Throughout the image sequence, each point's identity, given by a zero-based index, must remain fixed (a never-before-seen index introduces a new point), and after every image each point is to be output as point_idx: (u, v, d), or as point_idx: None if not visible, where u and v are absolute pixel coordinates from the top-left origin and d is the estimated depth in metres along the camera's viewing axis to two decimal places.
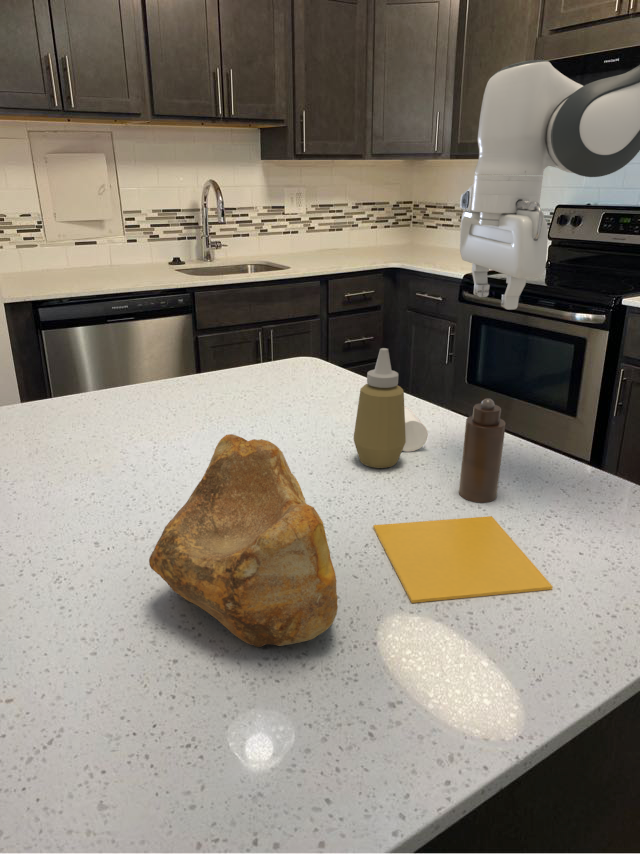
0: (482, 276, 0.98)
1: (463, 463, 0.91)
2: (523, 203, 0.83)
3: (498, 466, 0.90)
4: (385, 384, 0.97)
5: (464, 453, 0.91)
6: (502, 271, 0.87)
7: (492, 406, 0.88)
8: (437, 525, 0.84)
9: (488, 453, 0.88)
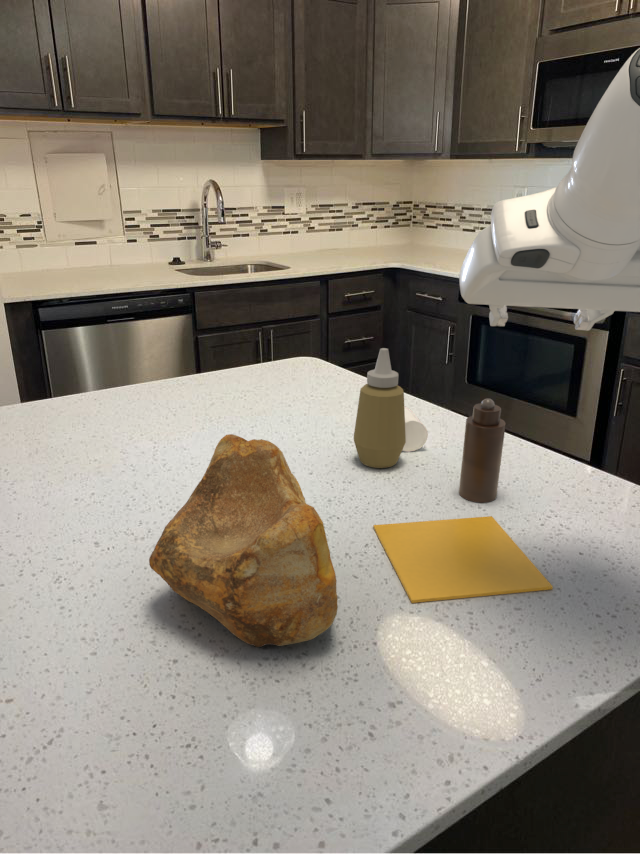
0: None
1: (463, 463, 0.91)
2: None
3: (498, 466, 0.90)
4: (385, 384, 0.97)
5: (464, 453, 0.91)
6: (607, 309, 0.68)
7: (492, 406, 0.88)
8: (437, 525, 0.84)
9: (488, 453, 0.88)
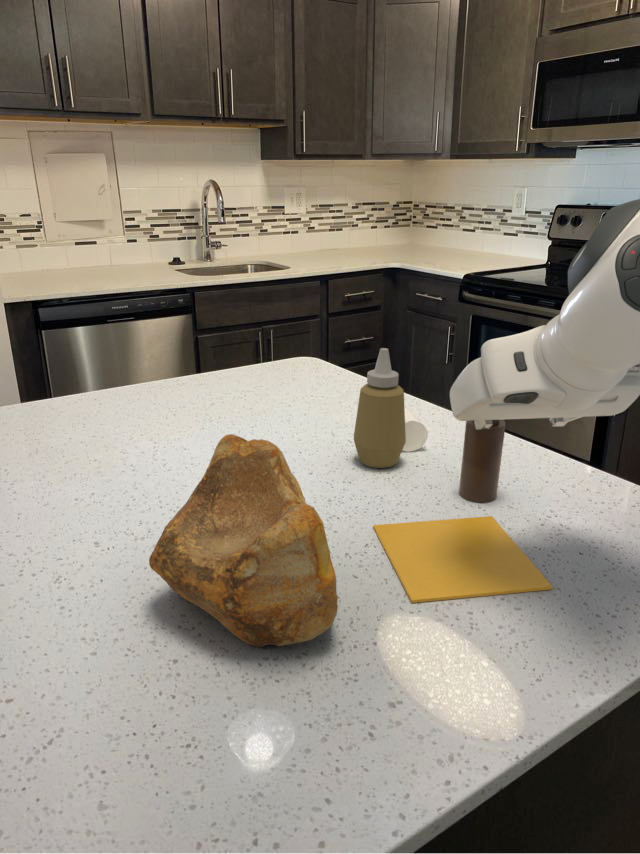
0: None
1: (463, 463, 0.91)
2: (627, 369, 0.68)
3: (498, 466, 0.90)
4: (385, 384, 0.97)
5: (464, 453, 0.91)
6: (581, 416, 0.75)
7: None
8: (437, 525, 0.84)
9: (488, 453, 0.88)
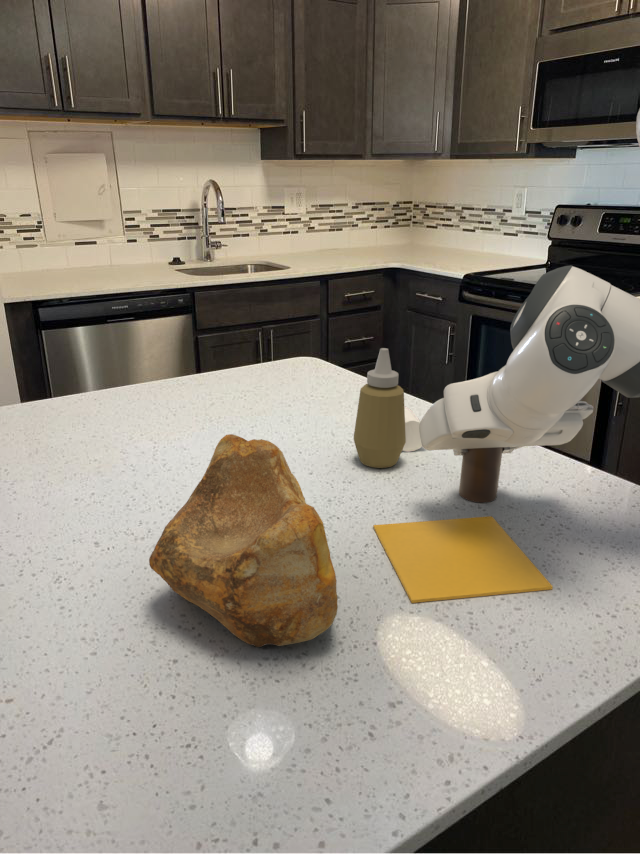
0: None
1: (463, 463, 0.91)
2: (568, 408, 0.80)
3: (498, 466, 0.90)
4: (385, 384, 0.97)
5: None
6: (533, 445, 0.87)
7: None
8: (437, 525, 0.84)
9: (488, 453, 0.88)
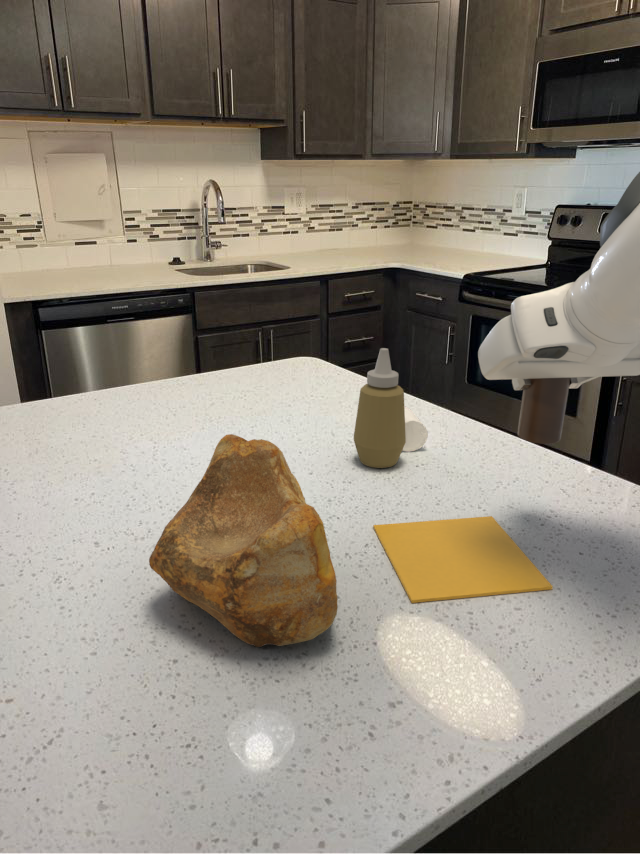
0: None
1: (524, 399, 0.81)
2: None
3: (565, 402, 0.80)
4: (385, 384, 0.97)
5: None
6: None
7: None
8: (437, 525, 0.84)
9: (554, 385, 0.78)
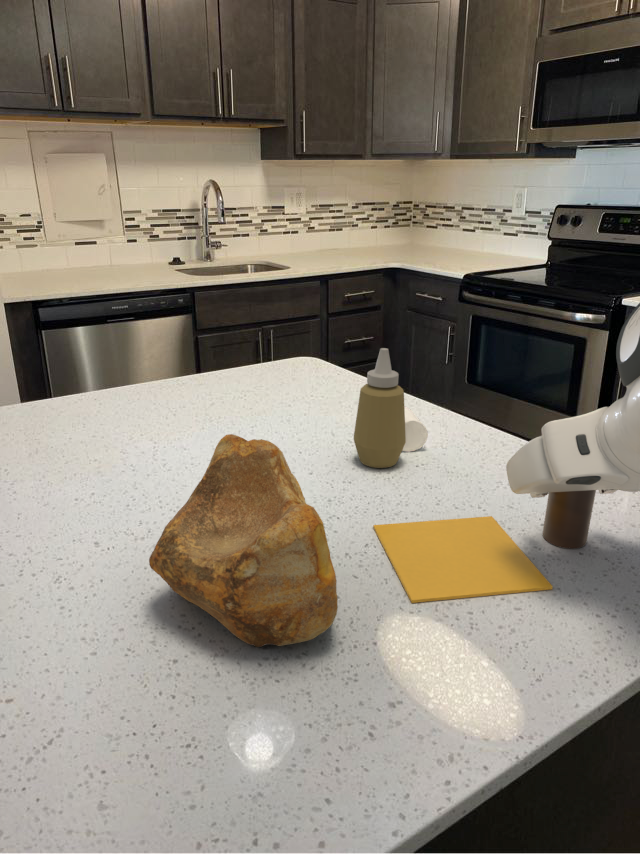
0: None
1: (550, 504, 0.80)
2: None
3: (591, 508, 0.79)
4: (385, 384, 0.97)
5: (552, 493, 0.80)
6: None
7: None
8: (437, 525, 0.84)
9: (582, 493, 0.77)
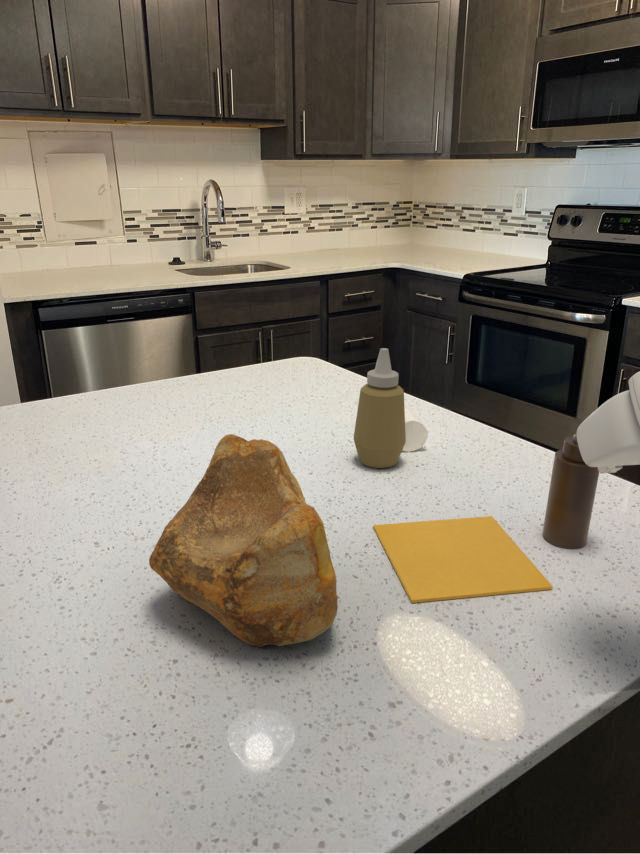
0: None
1: (550, 504, 0.80)
2: None
3: (591, 508, 0.79)
4: (385, 384, 0.97)
5: (552, 493, 0.80)
6: None
7: None
8: (437, 525, 0.84)
9: (582, 493, 0.77)
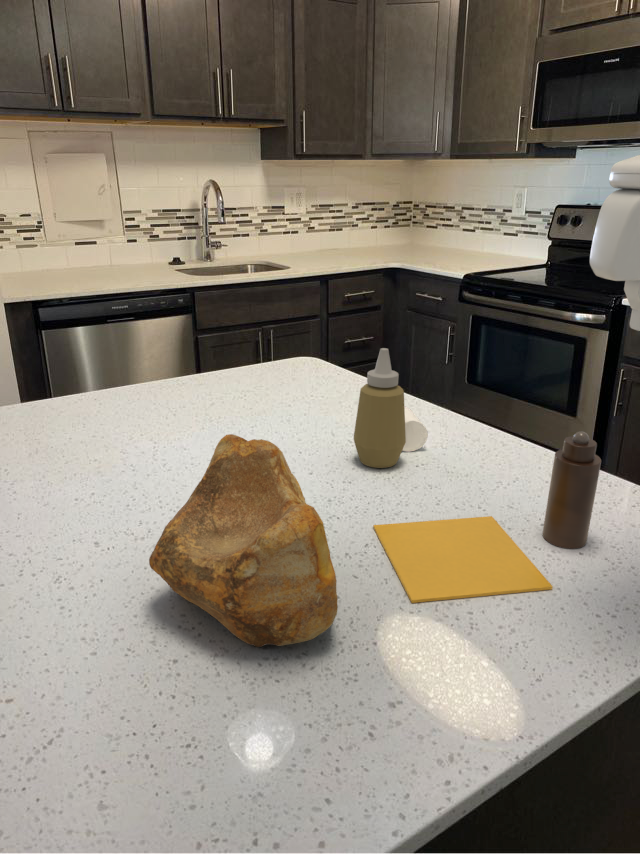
0: None
1: (550, 504, 0.80)
2: None
3: (591, 508, 0.79)
4: (385, 384, 0.97)
5: (552, 493, 0.80)
6: None
7: (587, 440, 0.77)
8: (437, 525, 0.84)
9: (582, 493, 0.77)
